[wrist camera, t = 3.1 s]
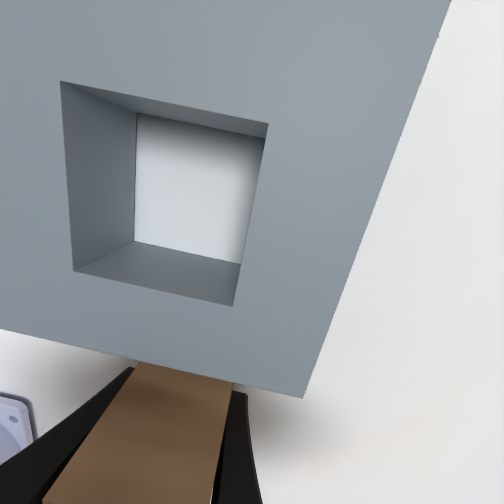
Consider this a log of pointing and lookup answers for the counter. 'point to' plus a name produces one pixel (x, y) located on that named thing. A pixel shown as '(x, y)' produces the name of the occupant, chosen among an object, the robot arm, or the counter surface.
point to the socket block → (209, 115)
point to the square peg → (150, 443)
